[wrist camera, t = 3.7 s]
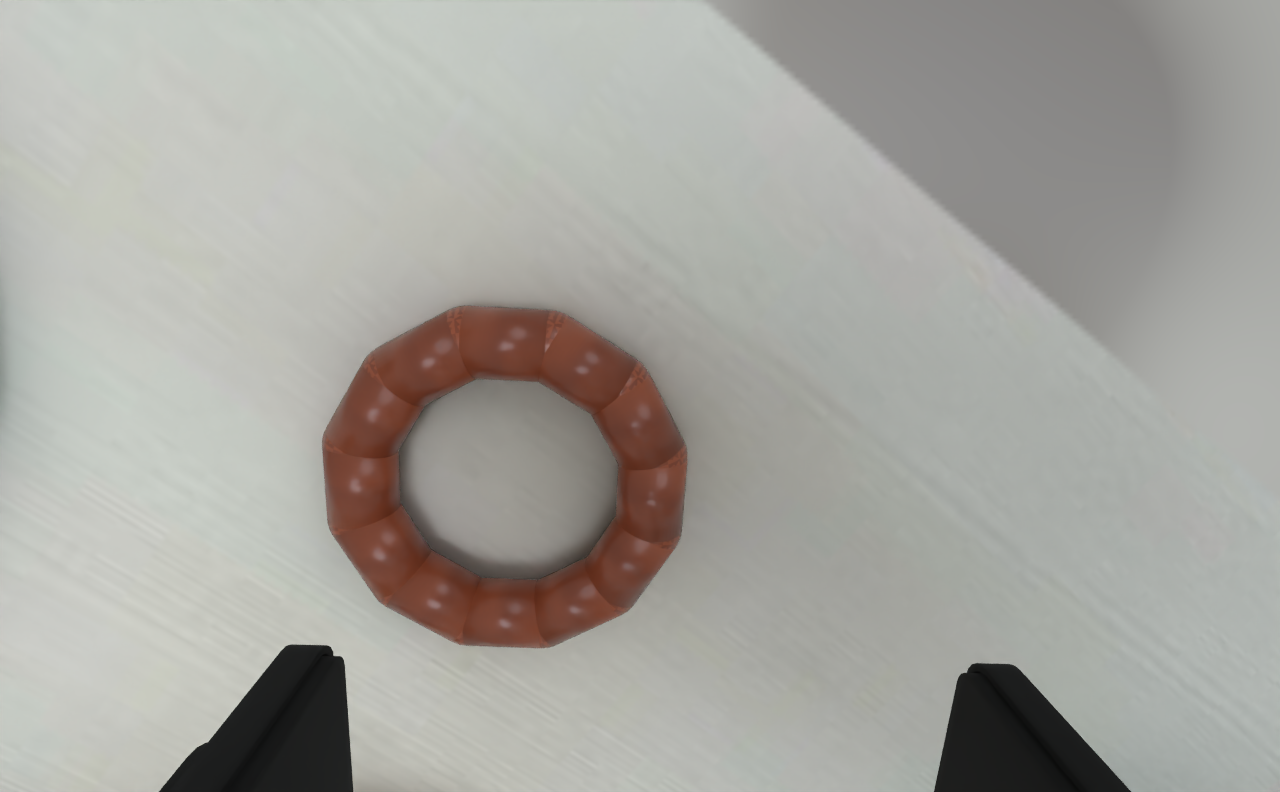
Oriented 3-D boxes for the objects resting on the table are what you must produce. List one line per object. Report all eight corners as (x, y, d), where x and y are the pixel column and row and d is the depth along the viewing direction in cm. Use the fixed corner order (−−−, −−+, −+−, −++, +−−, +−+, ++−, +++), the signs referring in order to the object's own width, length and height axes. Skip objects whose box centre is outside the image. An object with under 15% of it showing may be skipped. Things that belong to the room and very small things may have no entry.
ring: (694, 313, 19) (702, 323, 17) (670, 627, 21) (674, 667, 19) (332, 294, 18) (297, 301, 16) (352, 615, 21) (324, 654, 19)
